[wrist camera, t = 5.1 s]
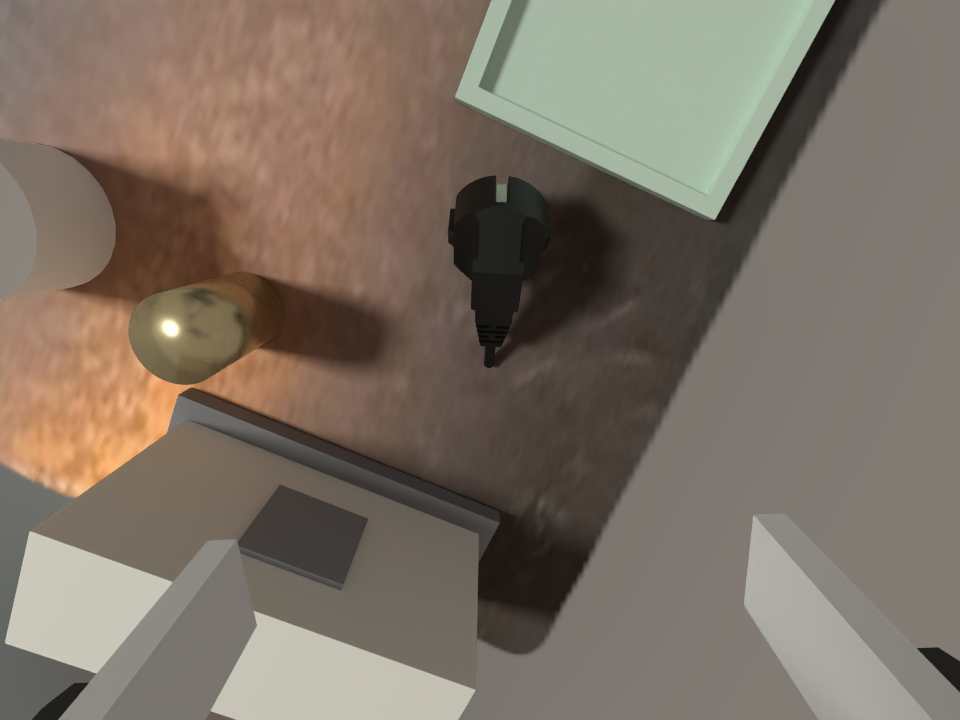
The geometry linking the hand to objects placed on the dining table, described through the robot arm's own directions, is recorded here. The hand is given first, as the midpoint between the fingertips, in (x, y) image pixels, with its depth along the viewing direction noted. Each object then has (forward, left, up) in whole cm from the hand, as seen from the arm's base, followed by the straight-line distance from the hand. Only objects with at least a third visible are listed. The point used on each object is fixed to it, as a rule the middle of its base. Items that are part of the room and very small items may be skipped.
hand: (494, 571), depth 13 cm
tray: (-20, +11, -22) cm, 32 cm away
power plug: (0, 0, -25) cm, 25 cm away
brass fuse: (-3, -16, -22) cm, 28 cm away
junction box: (+12, -13, -22) cm, 29 cm away
